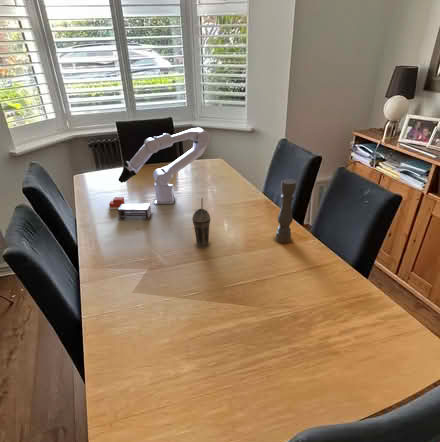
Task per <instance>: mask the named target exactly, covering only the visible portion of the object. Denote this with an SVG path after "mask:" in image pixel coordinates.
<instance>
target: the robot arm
mask: <svg viewBox="0 0 440 442" xmlns="http://www.w3.org/2000/svg"><path fill="white" fill-rule="evenodd" d="M210 138H211V135H210V133H209V132H208V131H207V130H204V128H202V127H199V126H198V127H192V128H189V129H187V130H184V131H181V132H178V133H176V134H172V135H171V134H170V133H166V132H164V133H162V135H159V136H153V137H148V138H146V139H144V142H143V145H142V146H141V147H140V148H139V150H138V151H137V152H136V153H135V154H134V156H133V157H132V158H131V159H130V160H129V161H128V160H126V161H125V163H126V164H127V165H128V166H126V165H124V166H123V167H122V170H121V171H122V172H121V174H120V176H119V177H118V179H117V180H118V181H119V182H120V183H121V184H123V183H126V182H128V181H129V180H130V179H131V178H132V177H134V176H137V174H138V173H139V171H140V170H141V168H142V167H143V166H144V165H145V164H146V162H147V161H148V160H149V159H150V158H151V156H152V155H153V154H156V153H158V151H160V150H164V149H166V148H167V149H168V148H171V147H173V145H174V144H175V143H178V142H183V141H187V140H191V141H193V143H192V148H191V149H189V150H188V151H186V152H185V153H184V154H182V155H181V156H179V157H178V158H177V159H175V160H174V161H172V162H170V163H169V164H168V165H165V166H162V167H160V168H156V169H155V170H154V171H153V172H152V178H153V179H154V180H155V181H154V193H155V201H154V204H155V205H159V204H160V205H169V204H170V205H173V204H174V202H175V190H174V184H171V183H169V182H170V181H171V180H173V177H174V175H176V174H177V173H179V172H180V171H182V170H183V169H184V168H186V167H187V166H188V165H190V164H191V163H193V162H195V161H196V160H197V159H198V158H200V157H201V156H202V155H203V154H204V153H205V151H206V149H207V146H209V145H210V142H211V139H210Z"/></svg>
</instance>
